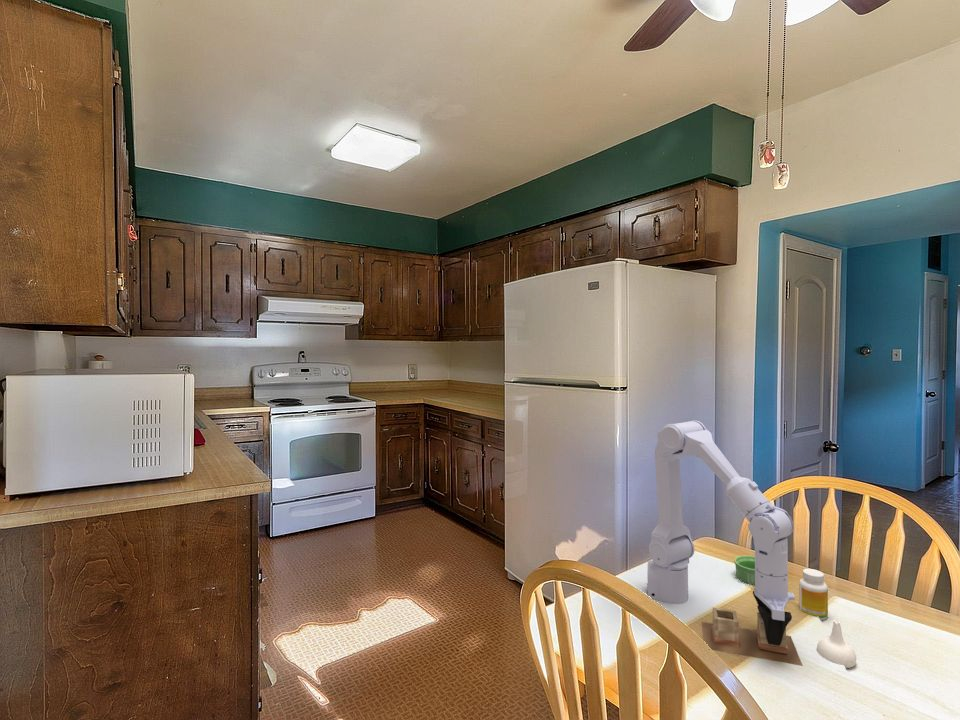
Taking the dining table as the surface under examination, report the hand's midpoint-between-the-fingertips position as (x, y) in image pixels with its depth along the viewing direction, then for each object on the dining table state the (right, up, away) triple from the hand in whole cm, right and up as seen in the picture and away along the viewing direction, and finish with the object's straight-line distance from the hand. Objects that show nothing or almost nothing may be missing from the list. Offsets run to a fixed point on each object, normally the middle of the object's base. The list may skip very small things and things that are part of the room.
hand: (771, 636), depth 101 cm
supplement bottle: (+17, -2, +13) cm, 21 cm away
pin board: (-4, -3, +2) cm, 5 cm away
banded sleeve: (0, -2, 0) cm, 2 cm away
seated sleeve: (-8, -2, +3) cm, 9 cm away
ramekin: (+13, -2, +30) cm, 33 cm away
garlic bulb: (+11, -3, -3) cm, 12 cm away
